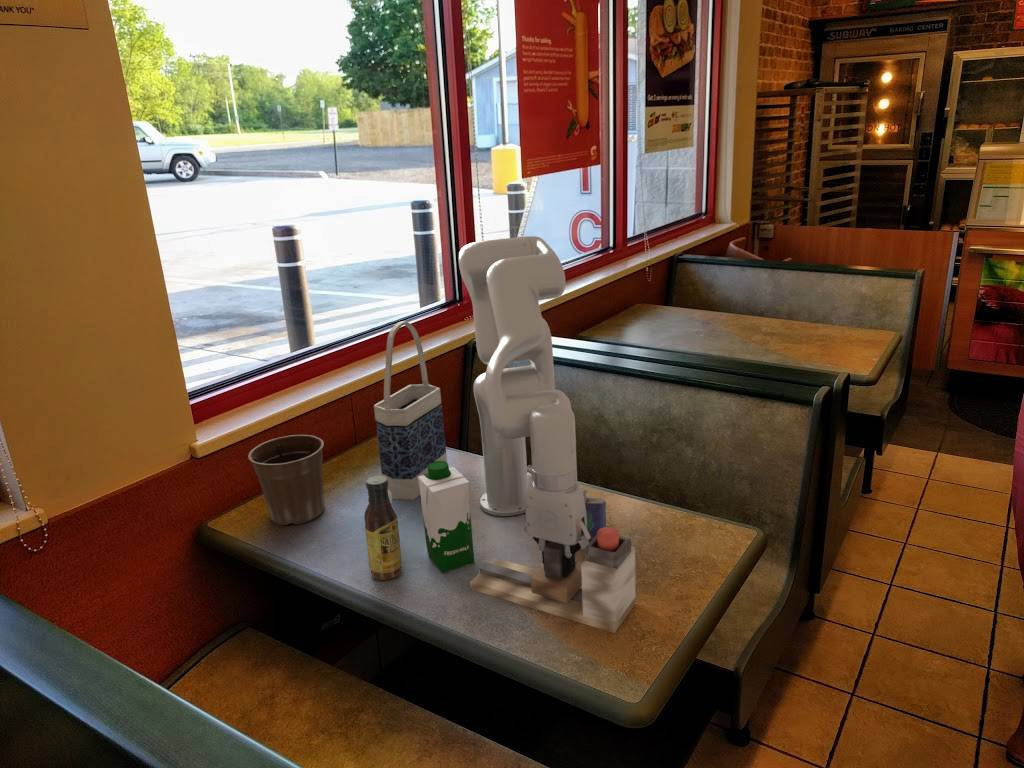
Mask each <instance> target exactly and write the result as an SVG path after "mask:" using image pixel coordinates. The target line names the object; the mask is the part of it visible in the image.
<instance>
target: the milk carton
mask: <svg viewBox="0 0 1024 768" xmlns="http://www.w3.org/2000/svg"><path fill="white" fill-rule="evenodd" d="M449 466H450V465H449V463H448V461H447V462H445V461H435V462H432V463H430V464H429V465H428V474H424V475H422V476H418V481H419V488H420V495H419V496H420V500H421V513H422V519H423V529H424V538H425V544H426V549H427V553H428V554H427V555H428V558H429V559H430V561H431V562H432V563H433V564H434V565H435V567H436V568H437V569H438V571H440V573H441V574H443V575H444V574H445V573H446V574H447V573H448V572H451V571H453V570H458V569H460V568H464V567H466V566H469V565H472V564H475V553H474V550H475V549H474V540H473V539H474V538H473V529H472V517H471V508H470V496H469V495H470V492H469V491H470V481H469V480H468V479H467V478H466V477H465V476H464V474H462V473H461V472H459V471H458V469H456V468H455V467H454V466H451V467H449Z"/></svg>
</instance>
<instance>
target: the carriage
mask: <svg viewBox="0 0 1024 768" xmlns="http://www.w3.org/2000/svg"><path fill="white" fill-rule="evenodd" d="M564 555H565V553H564V546H563V544H559V543H555V542H551V541H549V542H548V543H547V544H546V545H545V546H544V564H543V565H542V566H541V567H540V568H539V569H537V570H538V571H537V572H536V573H535V575H534V576H533V577H532V578H531V586H532V593H535V594H538V595H541V596H545V597H548V598H551V599H555V600H558V601H562V602H565V603H568V602H569V601H570V599H571V598H572V597H573V596H574V595H575V593H576V592H577V591H578V590H579V589H580V588H581V586H582V574H581V565H582V564H583V562H582V563H581V562H578V561H575V563H576V566H575V569H574V570H573V571H572V572H571V573H570V574H569V575H568V576H567V577H564V576H563V566H562V557H563V556H564ZM544 565H545V571H544Z"/></svg>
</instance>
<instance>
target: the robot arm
mask: <svg viewBox="0 0 1024 768" xmlns="http://www.w3.org/2000/svg"><path fill="white" fill-rule="evenodd" d="M458 267H459V271H460V276H461V279H462V282H463V283H464V285H465V287H466V289H467V292H468V293H469V296H470V299H471V303H472V311H473V312H472V313H473V323H474V334H475V343H476V344H475V346H476V352H477V356H478V358H479V359H480V361H481V362H482V363H483V364H485V365H487V366H486V370H485V372H483V373H481V374H479V375H478V376H477V377H476V378H475V380H474V382H473V396H474V400H475V404H476V407H477V413H478V417H479V424H480V432H481V433H480V434H481V444H482V445H481V446H482V447H481V448H482V456H483V468H484V471H483V472H484V482H485V493H483V494H482V496H481V497H480V500H479V506H480V508H481V509H482V510H483V512H485V513H487V514H488V515H492V516H498V517H512V516H518V515H522V514H525V518H524V519H525V524H524V526H523V531H524V532H525V533H526V534H527V535H529V536H530V537H532V539H533V540H534V541H535V543H536V544H537V545H538V550H540V551H541V556H542V557H541V559H542V561H541V562H542V564H543V565H544V546H545V545H546V544H547V543H548V542H549V541H551V542H555V543H559V544H563V546H564V553H565V555H564V556H563V557H562V566H563V576H564V577H567V576H568V575H569V574H570V573H571V572H572V571H573V570H574V569H575V566H576V563H575V562H576V553H578V552H579V551H580V550H585V547H586V546H587V545H588V544H589V543H590V541H591V540H592V538H591V536H590V534H589V532H588V530H587V516H586V507H585V501H584V496H583V492H582V491H583V488H582V485H581V483H580V482H578V470H577V469H578V468H577V467H578V466H577V463H578V462H577V439H576V420H575V419H576V418H575V414H574V411H573V410H572V404H571V401H570V398H569V397H568V396H567V395H566V394H565V392H563V391H561V390H560V389H556V384H555V368H554V352H553V339H552V333H551V329H550V327H549V325H548V322H547V321H546V319H545V318H543V315H542V312H541V307H540V304H539V301H542V300H551V299H557V298H559V297H561V296H562V295H563V294H564V292H565V289H566V275H565V270H564V267H563V264H562V263H561V260H560V258H559V256H558V255H557V254H556V252H555V251H554V249H553V248H551V246H550V245H549V244H548V243H547V242H546V241H545V240H544V239H543V238H542V237H539V236H536V235H535V236H533V235H532V236H531V235H530V236H529V235H528V236H518V237H510V238H495V239H494V238H493V239H486V240H479V241H475V242H474V241H473V242H470V243H468V244H465V245H464V246H463V247H461V249H460V251H459V252H458ZM527 361H528V362H530V364H529V365H522V366H514V367H506V366H507V365H508V364H513V363H514V364H515V363H521V362H522V363H523V362H527ZM526 437H530V451H531V454H530V455H531V464H528V465H527V461H528V460H527V447H526ZM580 538H581V540H580ZM544 571H545V565H544Z"/></svg>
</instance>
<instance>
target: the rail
mask: <svg viewBox="0 0 1024 768" xmlns="http://www.w3.org/2000/svg"><path fill="white" fill-rule="evenodd" d="M584 555H585V556H584V558H585V561H583V562H582V565H581V574H582V586H581V588H580V589H579V590H578V591H577V592H576V593H575V595H574V596H573V597H572V598H571V599H570V601H569V602H568V603H565V602H562V601H558V600H555V599H551V598H548V597H545V596H541V595H538V594H535V593H532V586H531V578H532V577H533V576H534V575H535V573H536V572H537V571H538V570H539V569H536V568H532V567H529V566H526V565H522V564H519V563H515V562H511V561H507V560H504V559H501V558H500V559H499V558H497V557H495V559H493V560H492V561H491V562H487V561H486V562H485V563H483V565H482V566H480V567H479V573H478V574H477V575H476V576H475V577H474V578H473V579H472V580H471V581H470V582H469V584H470V590H472V591H477V592H479V593H483V594H486V595H489V596H493V597H495V598H497V599H498V598H499V599H502V600H505V601H509V602H511V603H515V604H519V605H522V606H525V607H528V608H531V609H534V610H537V611H541V612H545V613H546V614H547V613H548V614H550V615H554V616H557V617H560V618H564V619H567V620H571V621H574V622H576V623H579V624H583V625H587V626H590V627H593V628H597V629H600V630H603V631H605V632H610V633H613V634H616V633H617V631H618V629H620V627H621V625H622V624H623V623H624V621H625V619H626V618H627V617H628V615H629V614H630V613H631V611H632V610H633V608H634V607H635V606H636V547H635V546H632V538H630V537H624V536H621V535H619V548H618V550H617V551H616V552H611V551H607V550H603V549H599V548H598V547H597V535H596V536H595V537H594V538H593V539H592V540H591V541H590V543H589V544H588V545H587V546H586V547H585V549H584Z"/></svg>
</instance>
